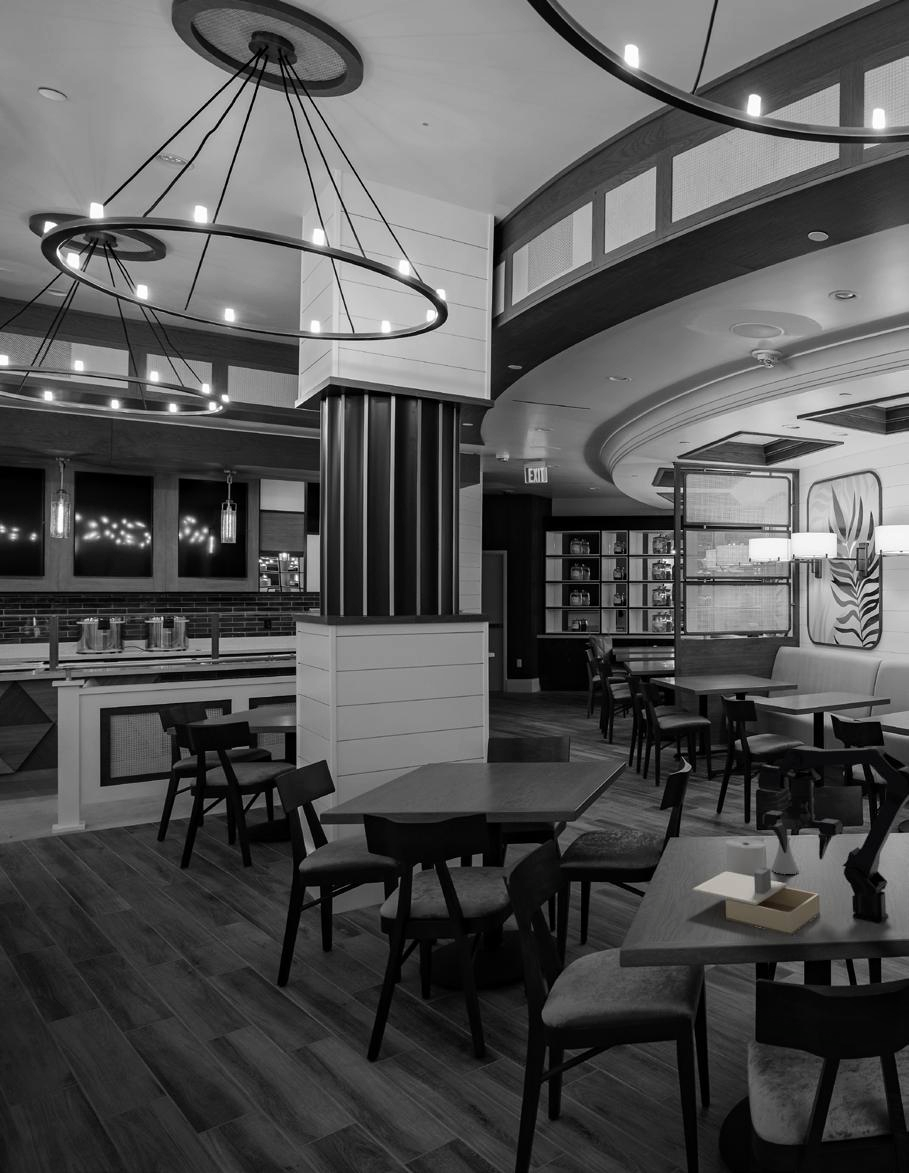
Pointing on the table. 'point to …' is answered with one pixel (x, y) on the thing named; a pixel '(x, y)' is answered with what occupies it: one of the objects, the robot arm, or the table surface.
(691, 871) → the table surface
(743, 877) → the carton lid
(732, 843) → the toilet tissue
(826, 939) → the table surface
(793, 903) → the carton
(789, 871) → the flask
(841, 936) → the table surface
